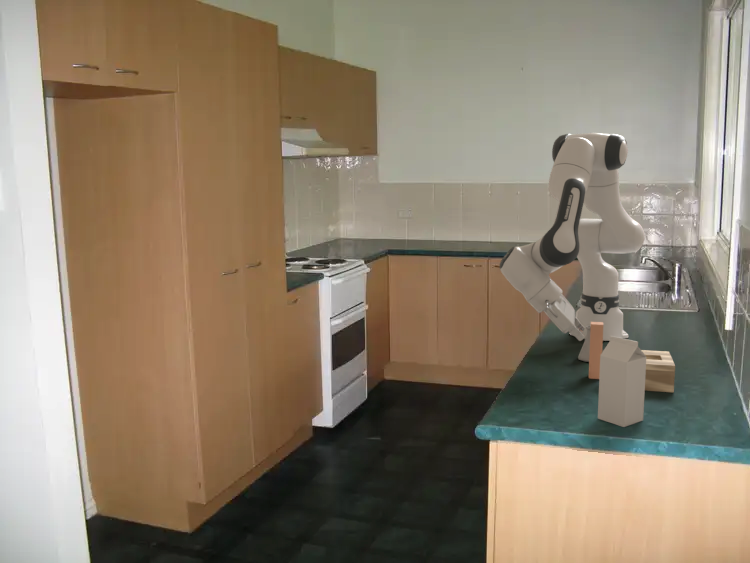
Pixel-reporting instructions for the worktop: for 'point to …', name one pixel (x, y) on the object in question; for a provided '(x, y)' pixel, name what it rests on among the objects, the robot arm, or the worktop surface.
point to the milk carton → (622, 382)
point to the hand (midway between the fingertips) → (582, 334)
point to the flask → (585, 347)
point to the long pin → (595, 349)
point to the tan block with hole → (659, 371)
